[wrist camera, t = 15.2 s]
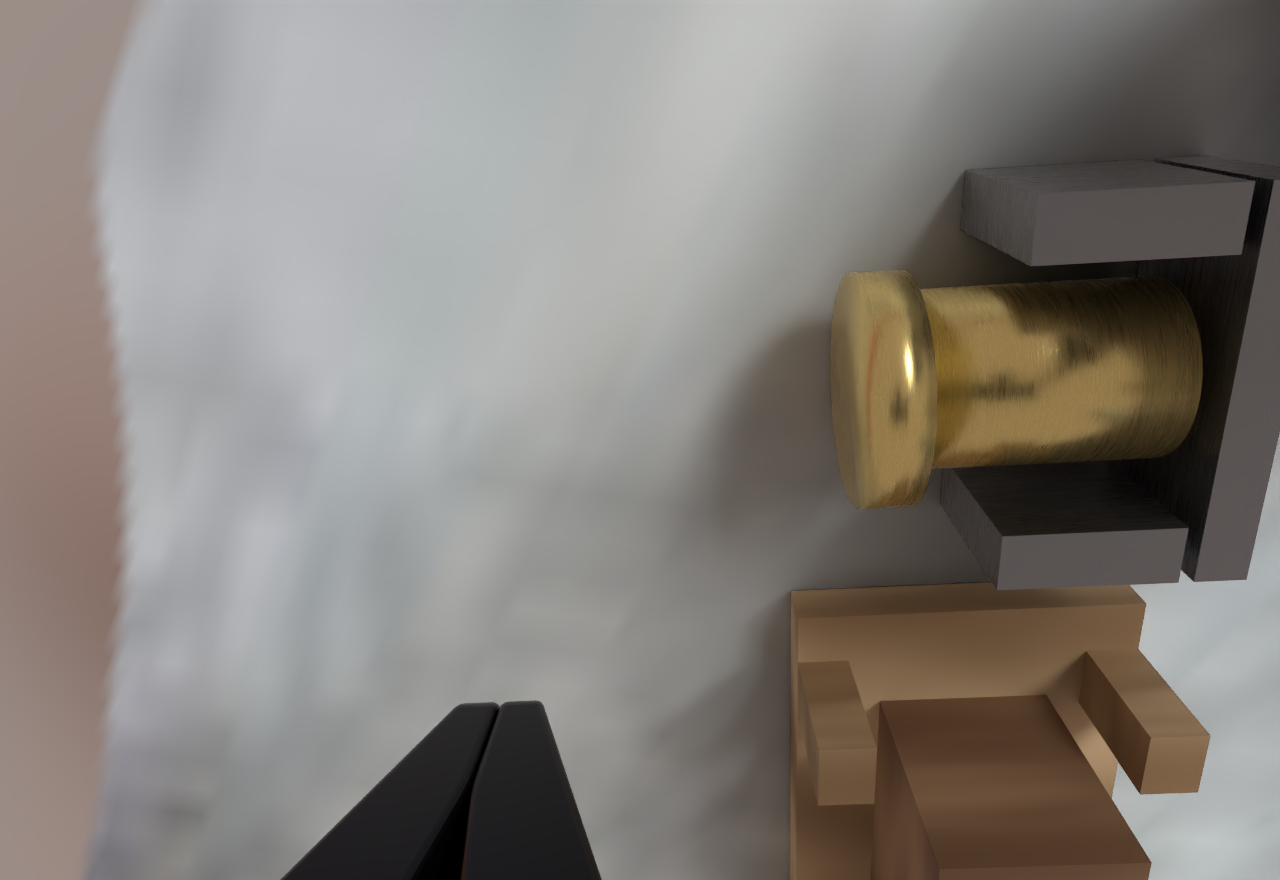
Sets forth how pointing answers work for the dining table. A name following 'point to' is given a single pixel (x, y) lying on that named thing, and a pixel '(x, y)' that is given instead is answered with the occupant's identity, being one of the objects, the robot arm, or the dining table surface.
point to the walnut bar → (992, 796)
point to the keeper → (1231, 386)
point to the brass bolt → (1005, 377)
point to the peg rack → (966, 693)
